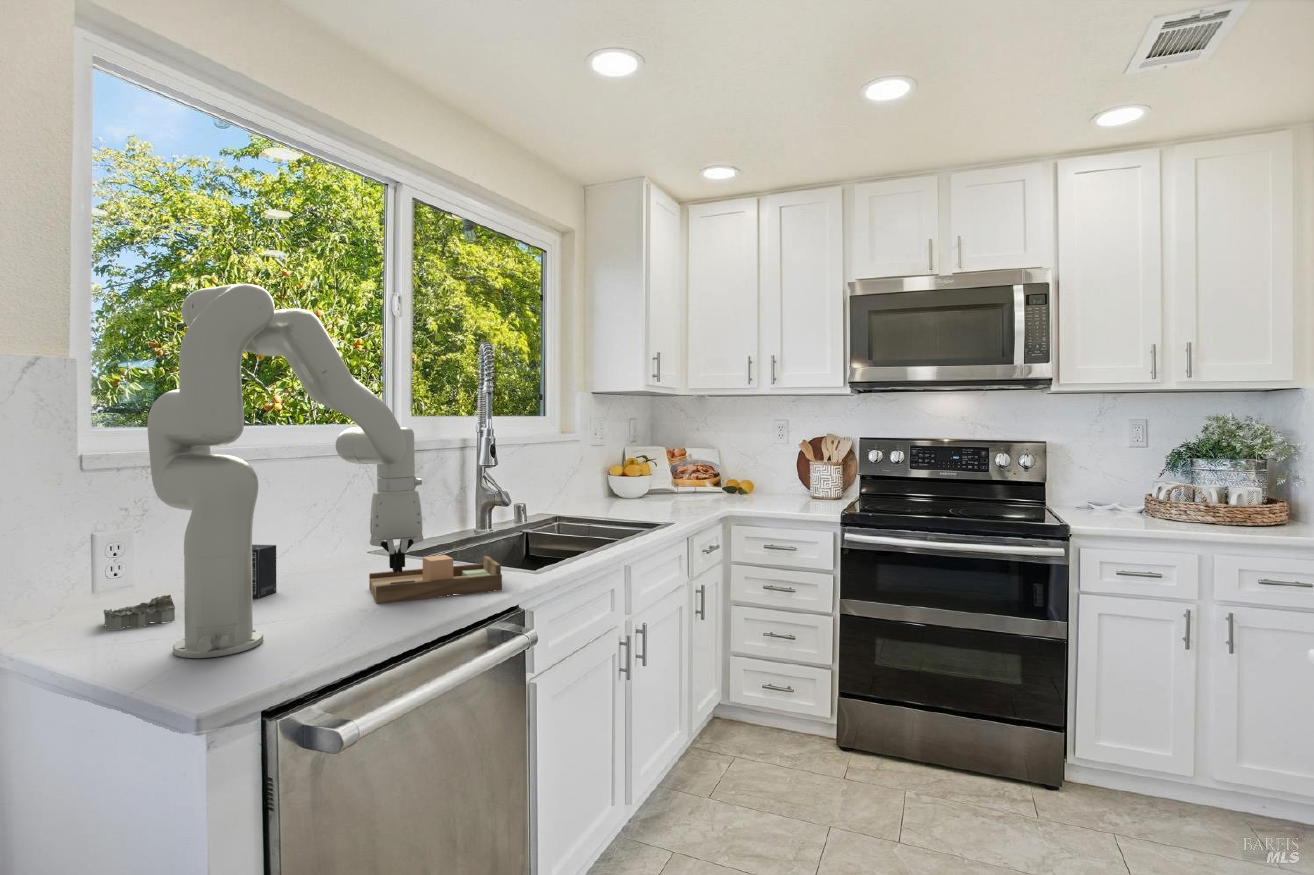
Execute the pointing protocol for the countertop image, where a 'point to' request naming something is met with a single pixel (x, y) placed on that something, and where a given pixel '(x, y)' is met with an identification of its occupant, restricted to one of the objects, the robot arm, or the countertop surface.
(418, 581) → the wooden desk organizer
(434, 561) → the block
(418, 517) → the robot arm
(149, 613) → the egg carton
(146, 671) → the countertop surface
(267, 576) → the small box
